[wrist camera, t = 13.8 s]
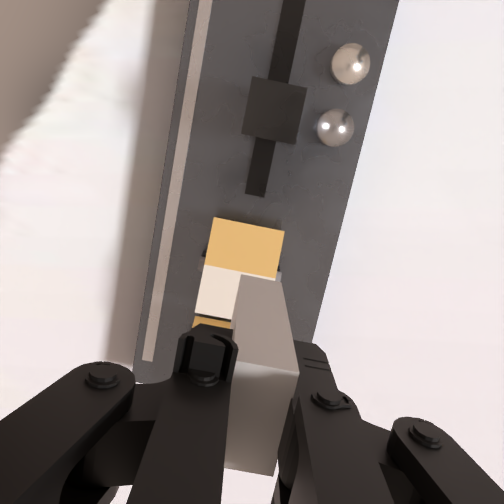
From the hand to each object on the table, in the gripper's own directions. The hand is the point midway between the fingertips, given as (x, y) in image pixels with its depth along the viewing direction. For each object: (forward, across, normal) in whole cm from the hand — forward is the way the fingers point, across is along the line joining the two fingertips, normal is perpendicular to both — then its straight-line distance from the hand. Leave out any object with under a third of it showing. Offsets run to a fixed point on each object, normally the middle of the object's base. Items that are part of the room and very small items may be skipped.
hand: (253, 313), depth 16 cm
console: (+18, 0, +2) cm, 18 cm away
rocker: (+14, 0, -2) cm, 14 cm away
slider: (+15, -1, +8) cm, 17 cm away
